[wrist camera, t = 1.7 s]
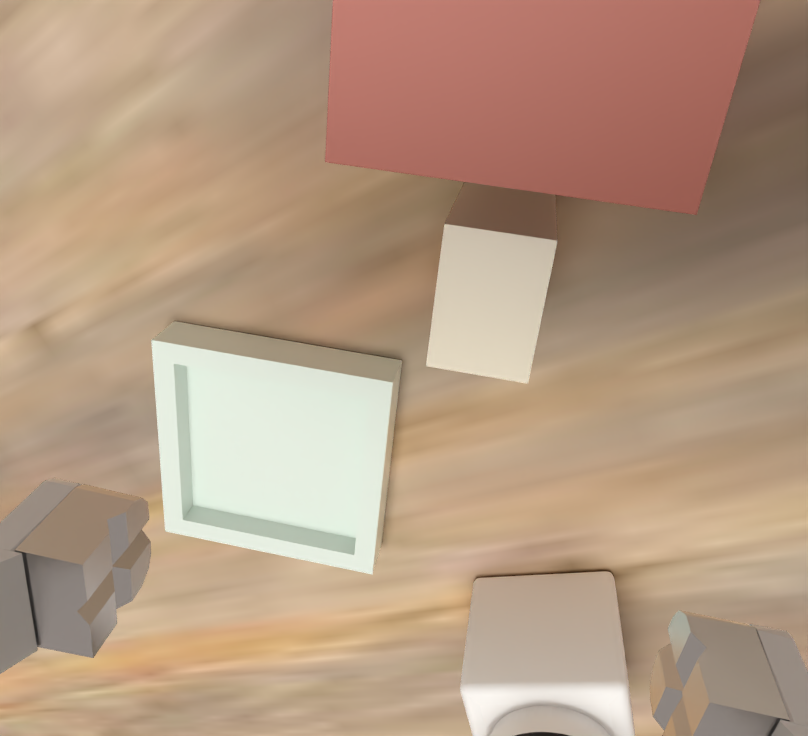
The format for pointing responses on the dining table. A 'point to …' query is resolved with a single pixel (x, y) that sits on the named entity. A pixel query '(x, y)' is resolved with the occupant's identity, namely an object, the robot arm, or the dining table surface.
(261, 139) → the dining table surface
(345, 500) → the dish
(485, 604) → the medicine bottle
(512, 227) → the tall beige block
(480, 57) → the block
